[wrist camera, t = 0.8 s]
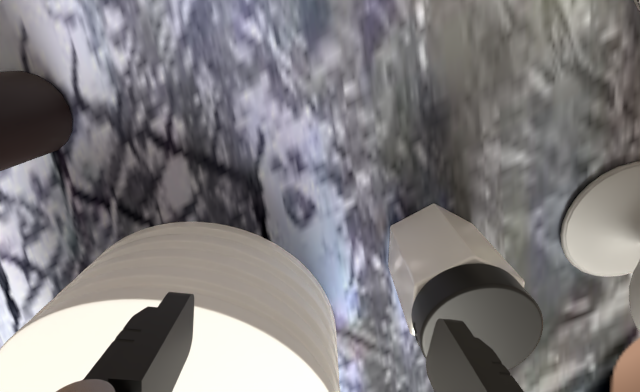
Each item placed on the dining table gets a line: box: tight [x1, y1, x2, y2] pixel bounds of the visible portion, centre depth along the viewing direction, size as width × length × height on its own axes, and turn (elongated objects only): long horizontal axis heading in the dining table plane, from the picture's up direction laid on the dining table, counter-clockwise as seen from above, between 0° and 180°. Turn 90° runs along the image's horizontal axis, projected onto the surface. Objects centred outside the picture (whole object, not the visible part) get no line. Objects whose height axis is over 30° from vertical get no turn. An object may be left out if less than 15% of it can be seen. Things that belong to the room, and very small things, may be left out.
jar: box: [388, 204, 543, 370], centre depth 29 cm, size 9×8×12 cm
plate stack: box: [0, 222, 340, 392], centre depth 33 cm, size 28×28×12 cm
